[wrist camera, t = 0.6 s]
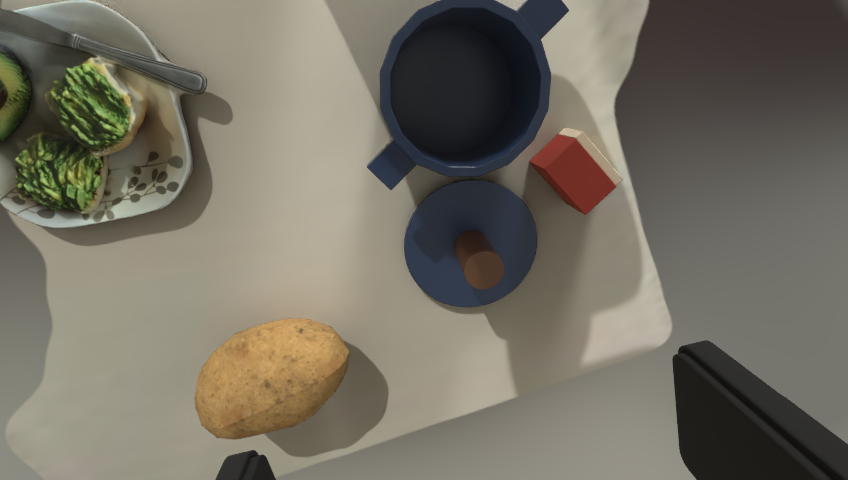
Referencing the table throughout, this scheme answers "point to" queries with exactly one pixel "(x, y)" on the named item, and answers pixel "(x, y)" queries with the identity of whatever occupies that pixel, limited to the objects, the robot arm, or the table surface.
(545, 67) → the pot
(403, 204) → the table surface
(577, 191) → the meat
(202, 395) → the potato
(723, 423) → the robot arm
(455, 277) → the lid
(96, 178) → the salad plate
